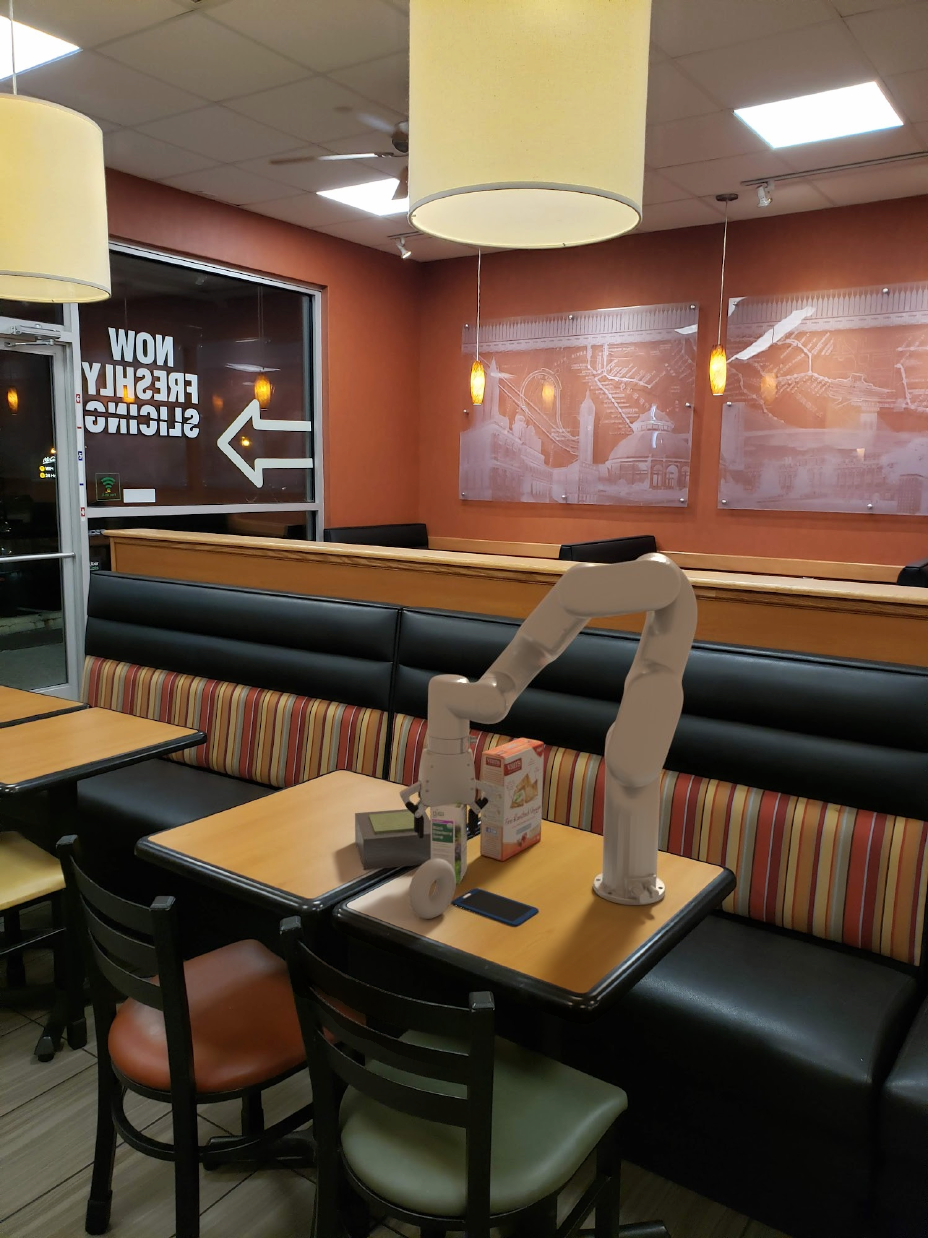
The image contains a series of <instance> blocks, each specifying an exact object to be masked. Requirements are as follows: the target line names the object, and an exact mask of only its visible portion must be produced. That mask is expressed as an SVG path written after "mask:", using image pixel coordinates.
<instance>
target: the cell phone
mask: <svg viewBox="0 0 928 1238" xmlns="http://www.w3.org/2000/svg"><path fill="white" fill-rule="evenodd" d="M450 904H451V905H452V904H453V905H452V906H455V905H457V906H458V908H460V907H462V908H461V909H463V908H464V909H463V910H465V911H468V910H470V911H469V912H471V913H474V912H475V914H477V915H479V914H480V916H482V915H483V917H485V918H487V919H491V920H494V921H496V922H499V923H503V924H505V925H506V926H507V925H508V926H510V927H514V928H515V927H516V928H517V927H519V926H521V925H523V924H524V923H525V922H527V921H528V920H530V919H532V918H533V917H535V916H536V915H538V914H539V909H538V907H535V906H533V905H529V904H526V903H524V902H520V901H518V900H514V899H511V898H509V897H505V896H503V895H499V894H497V893H494V892H490V891H488V890H485V889H481V888H478V887H475V888H472V889H470V890H469V891H466V892H465V893H463V894H462V895H459V896H458V897H457V898H455V899H452V900H451V902H450ZM457 906H456V907H457Z"/></svg>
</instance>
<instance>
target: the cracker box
mask: <svg viewBox="0 0 928 1238" xmlns="http://www.w3.org/2000/svg"><path fill="white" fill-rule="evenodd" d="M544 749H545V743H544V742H543V741H540V740H537V739H532V738H531V739H530V738H526V737H520V738H517V739H514V740H511V741H509V742H506V743H504V744H501V745H498V746H496V747H493V748H491V749H488V750H485V751H483V752H481V782H483V783H485V784H487V785H489V786H491V787H492V788H493V790H494V792H493V794H492V796H491V797H490V799H489V800H488V804H487V805H486V806H485V807H484V808H483V809H482V810H481V812H480V844H479V849H480V850H479V851H480V852H479V854H480V855H481V856H485V857H487V858H491V859H494V860H497V861H500V862H504V861H505V860H508V859H509V858H511V857H512V856H515V855H516V854H518V853H520V852H522V851H523V850H525V849H527V848H529V847H531V846H532V845H535V844H536V843H539V842H540V841H541V840H542V818H543V817H542V815H543V787H544V786H543V781H544V759H545V757H544V756H545V755H544V753H545V750H544ZM480 791H481V790H480ZM482 795H483V791H481V794H480V797H481V796H482Z"/></svg>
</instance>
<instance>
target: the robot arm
mask: <svg viewBox="0 0 928 1238" xmlns="http://www.w3.org/2000/svg"><path fill="white" fill-rule="evenodd" d="M639 613H646V614H645V622H644V625H643V629H642V632H641V634H640V635H641V636H640V640H639V642H638V643H639V644H638V647H637V649H636V653H635V656H634V659H633V662H632V664H631V667H630V669H629V672H628V674H627V675H626V677H625V681H624V686H623V687H624V689H623V695H622V698H621V703H620V706H619V709H618V712H617V716H616V719H615V721H614V722H613V723H612V724H611V726H610V727H609V729H608V731H607V733H606V737H605V743H604V745H605V746H604V762H605V770H604V771H605V774H604V804H603V805H604V806H603V832H602V833H603V834H602V835H603V836H602V838H603V839H602V843H603V844H602V870H601V871H602V872H601V873H599V874H598V875H596V877H594V879H593V881H592V887H593V890H594V892H595V893H596V894H597V895H598V896H600V897H601V898H602V899H605V900H607V901H609V902H612V903H616V904H618V905H619V904H620V905H626V906H643V905H644V906H645V905H650V904H654V903H656V902H659V901H660V900H662V899H663V898H664V896H665V895H666V885H665V883H664V881H662V879H660V878H659V877H657V876H658V853H659V852H658V851H659V828H660V827H659V825H660V806H661V805H660V802H661V772H662V769H663V766H664V765H665V763H666V760H667V759H666V758H667V756H668V753H669V749H670V748H671V745H672V741H673V739H674V735H675V731H676V729H677V726H678V723H679V721H680V720H679V719H680V718H681V714H682V709H683V704H684V690H683V686H682V685H683V684H682V683H683V682H682V680H683V677H684V676H683V675H684V673H685V668H686V665H687V662H688V659H689V655H690V652H691V649H692V645H693V643H694V642H693V641H694V638H695V634H696V630H697V626H698V625H697V624H698V613H699V611H698V603H697V597H696V594H695V591H694V588H693V586H692V583H691V581H690V580H689V578H688V577H687V575H686V574H685V572H684V571H683V570H682V569H681V568H680V566H679V565H677V563H675V561H674V560H672V559H671V558H670V557H669V556H666V555H665V554H662V553H659V552H648V553H645V554H643V555H641V556H639V557H638V558H637V559H635V560H631V561H623V562H616V563H610V564H602V565H601V564H599V565H595V564H593V563H590V562H579V563H576V564H574V565H572V566H570V567H569V568H568V569H567V570H566V571H565V572H564V573H563V575H561V577H560V578H559V579H558V581H557V582H556V583H555V584H554V586H553V587H552V588H551V589H550V590H549V592H548V593H547V594H546V595H545V596H544V598H543V599H542V600H541V601H540V602H539V604H537V606H536V607H535V608H534V609H533V611H532V612H531V613H530V614H529V616H527V618H526V619H525V620H524V622H523V623H522V624H521V625H520V627H518V630H517V631H516V634H515V636H514V637H513V638H512V640H511V641H510V642H509V644H507V646H506V647H505V649H504V650H503V651H502V652H501V654H499V656H498V657H497V659H496V660H495V661H494V662H493V663H492V664H491V666H490V667H489V668H488V669H487V670H486V671H485V673H484V674H483V675H482V676H481V677H480V679H478V681H476V682H470V681H469V679H468V678H467V677H465V676H463V675H459V674H439V675H434V676H433V677H432V678H431V679H430V680H429V683H428V689H427V691H428V692H427V693H428V695H427V698H428V699H427V701H428V702H427V741H426V744H427V746H426V748H424V749H423V750H422V752H421V756H420V761H419V770H418V778H417V779H418V780H417V782H415V783H413V784H411V785H410V786H407V787H406V788H404V789H402V790H401V791H400V792H399V793H398V794H399V797H400V799H401V800H402V802H403V804H404V806H405V807H406V809H408V810H409V811H410V812H411V813H413V814H414V832H415V833H417V834H418V836H419V838H420V839H421V838H424V817H423V815H422V814H423V813H424V812H426V811H427V809H428V808H430V807H437V806H442V805H450V804H460V803H462V805H467V806H468V807H469V809H467V831H468V832H469V833H470V835H471V836H475V835H476V831H477V830H476V829H479V817H480V816H479V815H480V814H481V810H482V809H483V808H484V807H485V806H486V805H487V804H488V800H489V799H490V797H491V796H492V794H493V792H494V790H493V788H492V787H491V786H489V785H487V784H485V783H483V782H482V781H480V780H478V779H476V771H475V770H476V769H475V763H474V762H475V760H474V754H473V750H472V748H471V745H473V744H477V742H478V740H477V739H478V737H477V736H476V735H474V736H473V735H471V734H470V721H472V722H475V723H481V724H485V725H486V724H487V725H490V724H493V725H494V724H496V723H497V724H498V723H499V722H501V721H502V720H504V719H505V717H506V716H507V715H508V713H509V711H510V710H511V707H512V705H514V703H515V701H516V700H517V698H519V696H520V695H521V694H522V693H523V691H524V690H525V689H526V688H527V687H528V685H529V684H530V683H531V682H532V680H534V678H535V677H536V676H537V675H538V674H540V672H541V671H542V670H543V669H544V668H545V667H546V666H547V665H548V664H550V663H552V662H553V661H556V660H557V658H559V656H561V655H562V653H563V652H564V651H565V650H566V649H567V648H568V647H569V645H570V644H571V643H572V642H573V640H575V638H576V637H577V636H578V634H579V633H580V632H581V631H582V630H583V629H584V628H585V627H586V625H587V624H588V623H589V622H590V621H591V620H592V619H595V618H604V617H605V618H606V617H614V616H615V617H616V616H622V615H629V614H631V615H632V614H639ZM476 790H479V791H483V795H482V796H481V795H480V797H479V798H478V799H477V800H476V795H477V793H476ZM415 794H417V796H418V798H419V799H418V801H417V802H416V803H413V802H412V801H411V799H410V798H411V796H413V795H415Z"/></svg>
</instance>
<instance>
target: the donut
mask: <svg viewBox="0 0 928 1238" xmlns="http://www.w3.org/2000/svg"><path fill="white" fill-rule="evenodd" d="M435 881H436V882H435ZM434 882H435V888H434V890H433V892H432V894H431V895H430V891H431V887H432V885H433V883H434ZM456 885H457V883H456V877H455V872H454V870H453V867H452V866H451V865H450V864H449V863H448V862H447V861H446V860H443V859H439V858H435V859H431V860H428V861H427V862H425V863H424V864H422V865H419V867H418V869H417V870H416V871H415V872H414V874H413V876H412V878H411V881H410V884H409V888H408V889H409V890H408V901H409V902H408V904H409V906H410V908H411V910H412V912H413V913H414V914H415V915H416V916H418V917H419V918H421V919H427V920H429V919H433V918H434V919H435V918H436V917H438V916H439V915H441V914H443V912H445V911H446V909H447V908H448V907H449V906H450V904H451V902H452V901H453V898H454V895H455V891H456Z"/></svg>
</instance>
